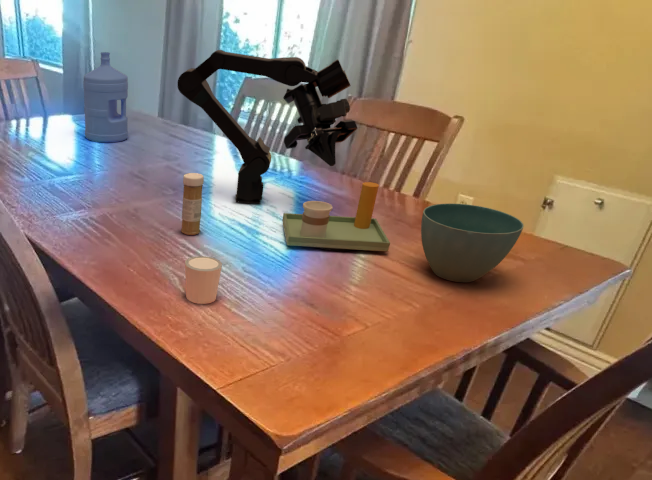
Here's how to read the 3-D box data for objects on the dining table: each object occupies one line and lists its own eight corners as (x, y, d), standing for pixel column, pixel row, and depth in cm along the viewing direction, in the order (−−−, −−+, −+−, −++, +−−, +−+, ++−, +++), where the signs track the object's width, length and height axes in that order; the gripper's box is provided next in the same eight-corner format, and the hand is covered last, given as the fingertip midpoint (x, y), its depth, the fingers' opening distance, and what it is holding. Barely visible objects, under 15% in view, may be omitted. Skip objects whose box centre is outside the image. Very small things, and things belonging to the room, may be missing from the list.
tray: (287, 245, 136) (294, 197, 130) (282, 220, 150) (288, 176, 144) (388, 251, 134) (400, 203, 129) (374, 226, 148) (384, 181, 142)
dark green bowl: (389, 263, 131) (403, 208, 125) (453, 252, 137) (469, 198, 131) (455, 299, 117) (475, 238, 111) (522, 285, 123) (545, 226, 117)
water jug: (80, 141, 218) (76, 54, 203) (91, 132, 231) (88, 49, 216) (123, 144, 216) (122, 56, 201) (131, 134, 229) (131, 51, 214)
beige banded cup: (299, 239, 137) (304, 209, 133) (297, 229, 143) (301, 200, 139) (328, 241, 137) (334, 210, 133) (325, 231, 142) (330, 201, 138)
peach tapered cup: (180, 289, 118) (182, 255, 115) (215, 288, 119) (218, 255, 115) (185, 305, 113) (187, 270, 109) (222, 305, 113) (225, 270, 109)
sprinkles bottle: (194, 227, 147) (197, 171, 140) (203, 234, 144) (207, 176, 136) (177, 230, 145) (179, 173, 138) (186, 236, 142) (189, 178, 135)
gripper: (299, 88, 138) (324, 150, 136) (360, 84, 146) (384, 142, 144) (272, 118, 148) (295, 176, 146) (331, 113, 156) (353, 167, 154)
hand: (333, 165), depth 147 cm, fingers closed
